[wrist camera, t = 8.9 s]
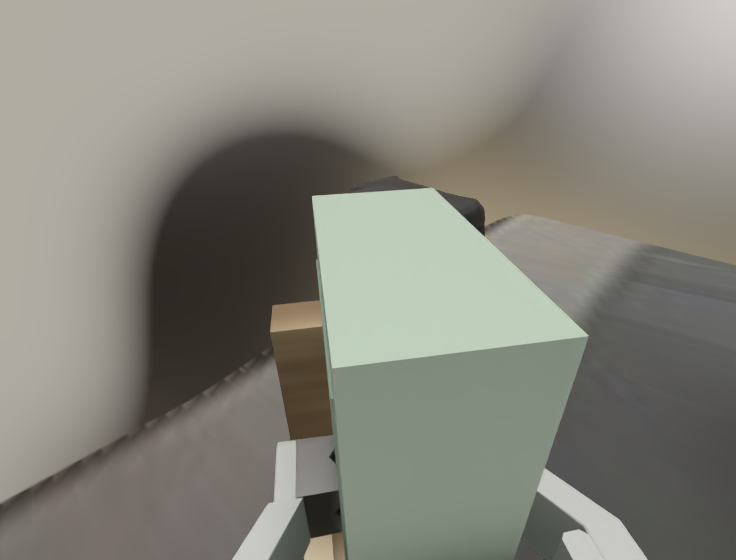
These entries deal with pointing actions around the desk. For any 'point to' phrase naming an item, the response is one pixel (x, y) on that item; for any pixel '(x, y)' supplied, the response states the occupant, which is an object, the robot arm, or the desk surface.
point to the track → (305, 390)
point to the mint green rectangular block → (435, 378)
